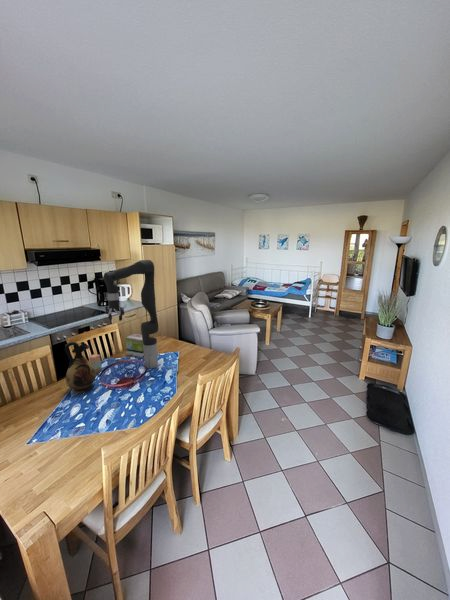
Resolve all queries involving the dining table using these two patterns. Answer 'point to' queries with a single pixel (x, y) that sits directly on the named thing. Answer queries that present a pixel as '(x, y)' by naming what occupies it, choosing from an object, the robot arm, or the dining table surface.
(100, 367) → the walnut base block
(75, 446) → the dining table surface
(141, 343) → the tea box
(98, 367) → the teal middle block
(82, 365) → the ceramic jug
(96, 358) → the terracotta cube
